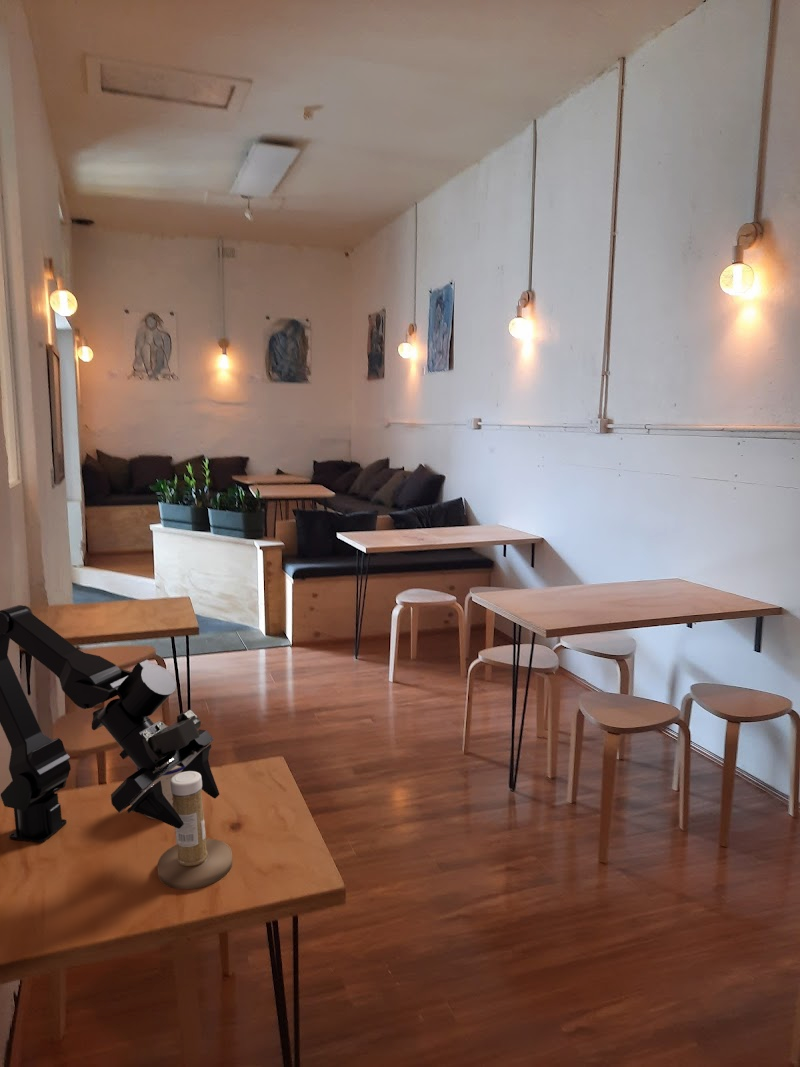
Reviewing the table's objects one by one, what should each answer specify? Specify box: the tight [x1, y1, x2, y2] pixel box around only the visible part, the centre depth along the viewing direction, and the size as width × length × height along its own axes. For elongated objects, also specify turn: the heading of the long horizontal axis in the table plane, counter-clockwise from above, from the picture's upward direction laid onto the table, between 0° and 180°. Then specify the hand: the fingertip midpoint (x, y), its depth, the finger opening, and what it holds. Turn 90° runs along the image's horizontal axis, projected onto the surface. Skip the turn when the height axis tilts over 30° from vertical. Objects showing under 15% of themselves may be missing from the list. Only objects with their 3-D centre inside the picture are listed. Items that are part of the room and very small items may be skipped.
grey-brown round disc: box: [157, 837, 233, 890], centre depth 116 cm, size 11×11×2 cm
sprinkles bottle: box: [170, 771, 208, 866], centre depth 115 cm, size 5×5×13 cm
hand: (200, 811), depth 114 cm, fingers open, 9 cm apart
